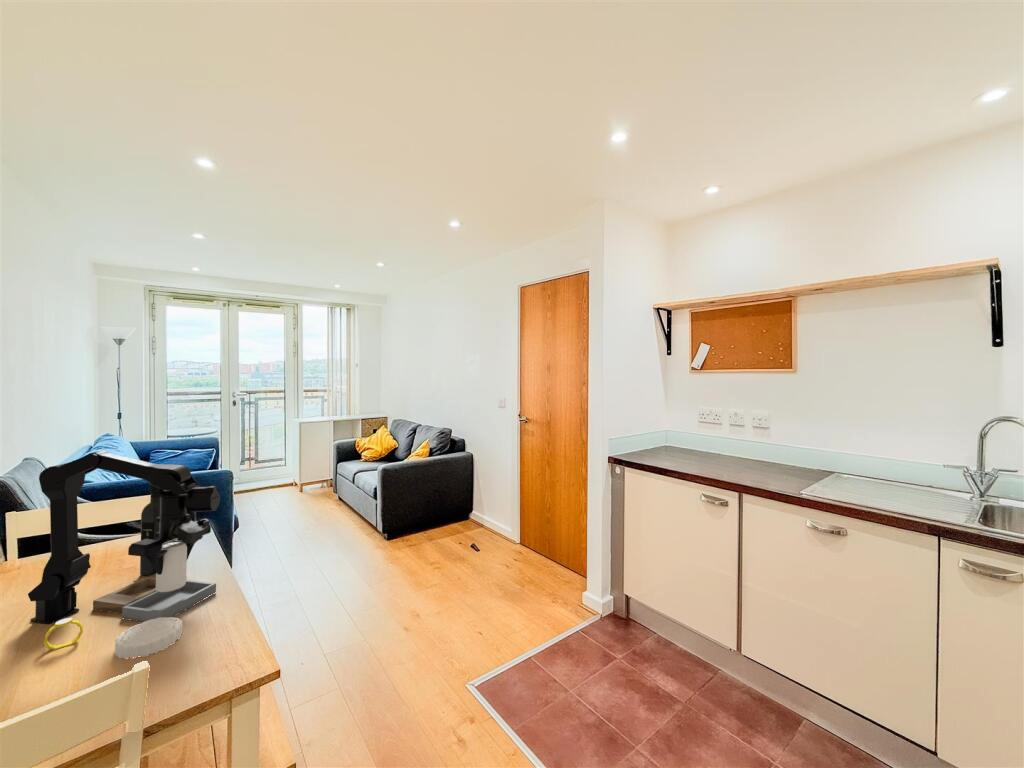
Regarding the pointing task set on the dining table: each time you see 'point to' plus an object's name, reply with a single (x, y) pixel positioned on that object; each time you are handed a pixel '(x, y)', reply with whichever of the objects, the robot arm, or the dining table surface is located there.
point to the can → (173, 567)
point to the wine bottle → (149, 529)
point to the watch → (61, 624)
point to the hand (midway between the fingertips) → (171, 569)
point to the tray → (168, 601)
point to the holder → (125, 595)
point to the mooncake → (148, 637)
